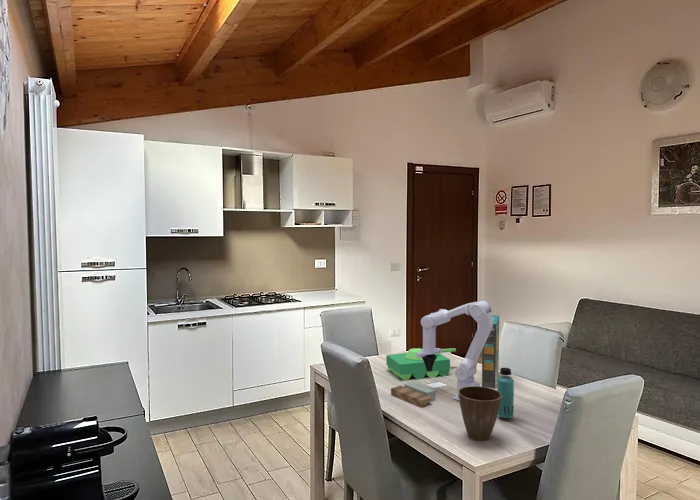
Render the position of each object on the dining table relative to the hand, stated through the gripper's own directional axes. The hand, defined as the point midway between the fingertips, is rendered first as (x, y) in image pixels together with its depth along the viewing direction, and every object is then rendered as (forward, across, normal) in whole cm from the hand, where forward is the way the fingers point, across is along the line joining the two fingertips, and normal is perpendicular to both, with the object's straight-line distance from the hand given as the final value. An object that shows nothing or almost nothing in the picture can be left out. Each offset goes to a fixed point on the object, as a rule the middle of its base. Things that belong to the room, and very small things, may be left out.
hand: (429, 370), depth 225 cm
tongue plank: (+10, +8, +2) cm, 13 cm away
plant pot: (+10, +20, +44) cm, 49 cm away
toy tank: (+10, -18, -21) cm, 30 cm away
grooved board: (+9, +14, +2) cm, 17 cm away
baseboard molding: (+10, -43, -30) cm, 53 cm away
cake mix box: (+10, -35, +8) cm, 37 cm away
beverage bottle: (+10, -1, +40) cm, 41 cm away
